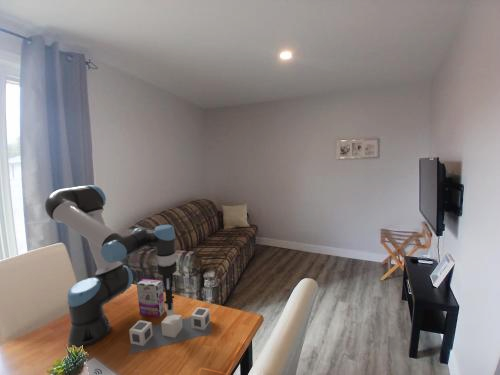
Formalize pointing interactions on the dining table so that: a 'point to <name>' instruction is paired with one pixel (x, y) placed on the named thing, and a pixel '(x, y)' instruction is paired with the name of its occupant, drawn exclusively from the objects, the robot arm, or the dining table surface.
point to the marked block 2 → (200, 318)
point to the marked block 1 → (141, 332)
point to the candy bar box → (151, 297)
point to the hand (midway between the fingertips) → (170, 314)
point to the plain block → (171, 325)
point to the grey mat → (162, 340)
